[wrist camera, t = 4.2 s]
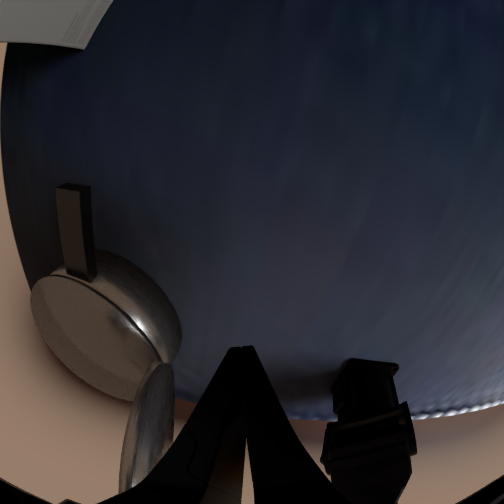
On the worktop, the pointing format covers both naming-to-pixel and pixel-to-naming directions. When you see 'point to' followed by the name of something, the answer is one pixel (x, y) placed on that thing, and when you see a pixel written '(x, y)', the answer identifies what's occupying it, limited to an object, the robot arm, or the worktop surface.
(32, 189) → the worktop surface
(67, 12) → the supplement box
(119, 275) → the cooker pot
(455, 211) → the worktop surface
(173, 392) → the lid
